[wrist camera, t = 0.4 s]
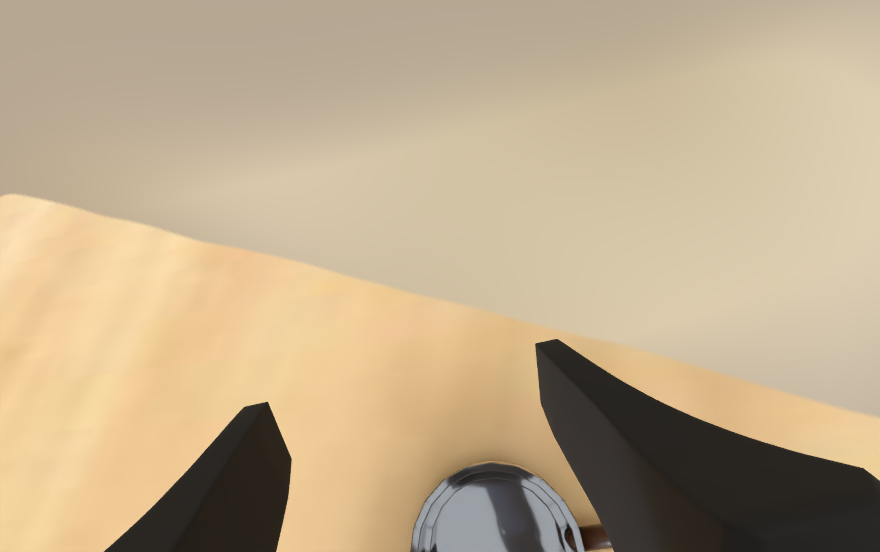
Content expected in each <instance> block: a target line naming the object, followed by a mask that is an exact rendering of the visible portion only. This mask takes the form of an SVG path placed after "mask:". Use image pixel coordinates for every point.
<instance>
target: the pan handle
mask: <svg viewBox="0 0 880 552" xmlns="http://www.w3.org/2000/svg"><path fill="white" fill-rule="evenodd" d="M579 528H580V532H581V536H582V540H583V544H584V548H585V551H593V550H600V549H608V548H613V547H612V545H611V543H610V541H609V538H608V536H607V534H606V531H605V529H604V527H603V525H602V524H596V525H589V526H582V527H579ZM566 540H567V544H568V546H569V547H570V548H571V549H572V550H574V551H576V549H575V544H574V540H573V537H572V533H571V531H570V530H569V531H568V533H567V536H566Z"/></svg>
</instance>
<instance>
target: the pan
mask: <svg viewBox="0 0 880 552" xmlns="http://www.w3.org/2000/svg"><path fill="white" fill-rule="evenodd" d="M569 530H570V531H571V533H572V537H573V540H574V544H575V549H576V551H574V550H572V549H571V548H570V547H569V546H568V544H567V540H566V536H567V533H568V531H569ZM410 552H585V548H584V544H583V540H582V536H581V532H580V528H579V526H578V524H577V522H576V520H575V519H574V517H573V515H572V513H571V512H570V510H569V508H568V506H567V505H566V503H565V501H564V500H563V498H562V497H561V496H560V495H559V494H557V493H556V492H555V491H554V490H553V489H552V488H551V487H550V486H549V485H548V484H547V483H546V482H545V481H544V480H543V479H542V478H541V477H540V476H538V475H537V474H535V473H533V472H531V471H529V470H527V469H525V468H523V467H522V466H520V465H518V464H515V463H508V462H502V461H495V460H489V461H484V462H479V463H473V464H469V465H467V466H465V467H463V468H461V469H460V470H458V471H456V472H455V473H453V474H451V475H449V476H448V477H447V478H445V479H444V480H443V481H442V482H441V483H440V484H439V485H438V487H437V488H436V489H435V490H434V491H433V492H432V493H431V495H430V496H429V497H428V498H427V499H426V501H425V502H424V505H423V507H422V509H421V511H420V514H419V516H418V518H417V520H416V523H415V525H414V528H413V535H412V543H411V550H410Z"/></svg>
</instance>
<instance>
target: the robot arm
mask: <svg viewBox="0 0 880 552" xmlns="http://www.w3.org/2000/svg"><path fill="white" fill-rule="evenodd" d="M535 346H536V357H537V368H538V378H539V389H540V399H541V405H542V407H543V410H544V412H545V415H546V418H547V420H548V423H549V425H550V427H551V430H552V432H553V435H554V437H555V439H556V441H557V442H558V444H559V446H560V448H561V450H562V452H563V453H564V455H565V457H566V459H567V461H568V463H569V464H570V466H571V468H572V470H573V472H574V473H575V475H576V477H577V479H578V481H579V482H580V484H581V486H582V488H583V490H584V491H585V493H586V495H587V497H588V498H589V500H590V502H591V504H592V506H593V507H594V509H595V511H596V513H597V515H598V517H599V519H600V521H601V523H602V525H603V527H604V529H605V531H606V534H607V536H608V538H609V541H610V543H611V545H612V547H613V550H614V552H880V481H879V480H878V479H877V478H875V477H874V476H873V475H872V474H870V473H869V472H867V471H866V470H865V469H864V468H860V467H856V466H852V465H847V464H843V463H839V462H835V461H831V460H827V459H823V458H818V457H814V456H810V455H806V454H802V453H798V452H795V451H791V450H788V449H784V448H781V447H778V446H774V445H771V444H768V443H764V442H761V441H758V440H755V439H752V438H749V437H746V436H743V435H740V434H737V433H734V432H731V431H729V430H726V429H723V428H721V427H718V426H715V425H713V424H710V423H707V422H705V421H702V420H700V419H698V418H695V417H693V416H690V415H688V414H686V413H684V412H681V411H679V410H677V409H675V408H673V407H671V406H668V405H666V404H664V403H662V402H660V401H658V400H656V399H654V398H652V397H650V396H648V395H646V394H644V393H643V392H641V391H639V390H637V389H635V388H633V387H632V386H630V385H628V384H626V383H625V382H623V381H621V380H619V379H618V378H616V377H614V376H613V375H611V374H610V373H608V372H606V371H605V370H603V369H602V368H600V367H598V366H597V365H595V364H594V363H592V362H591V361H589V360H588V359H586V358H585V357H583V356H582V355H580V354H579V353H578V352H576V351H575V350H573V349H572V348H570V347H569V346H567V345H566V344H564V343H563V342H561V341H560V340H558V339H554V340H550V341H545V342H540V343H536V344H535ZM291 460H292V459H291V456H290V454H289V452H288V449H287V447H286V444H285V442H284V440H283V437H282V435H281V432H280V430H279V428H278V425H277V423H276V421H275V418H274V416H273V413H272V411H271V409H270V406H269V404H268V402H265V403H260V404H256V405H251V406H246V407H244V408H243V409H242V410H241V411H240V412H239V413H238V414H237V415H236V416H235V417H234V419H233V420H232V421H231V422H230V423H229V424H228V425H227V426H226V428H225V429H224V430H223V431H222V432H221V433H220V434H219V436H218V437H217V438H216V439H215V440H214V441H213V442H212V444H211V445H210V446H209V447H208V448H207V449H206V450H205V451H204V453H203V454H202V455H201V456H200V457H199V458H198V459H197V460H196V462H195V463H194V464H193V465H192V466H191V467H190V468H189V469H188V471H187V472H186V473H185V474H184V475H183V476H182V477H181V478H180V479H179V480H178V481H177V482H176V483H175V484H174V485H173V486H172V487H171V488H170V489H169V490H168V491H167V492H166V493H165V495H164V496H163V497H162V498H161V499H160V500H159V501H158V502H157V503H156V504H155V505H154V506H153V507H152V508H151V509H150V510H149V511H148V512H147V513H146V514H145V515H144V516H143V517H142V518H141V519H139V520H138V521H137V522H136V523H135V524H134V525H133V526H132V527H131V528H130V529H129V530H128V531H126V532H125V533H124V534H123V535H122V536H121V537H120V538H119V539H118V540H117V541H115V542H114V543H113V544H112V545H111V546H110V547H109V548H107V549H106V550H105V551H104V552H276V550H277V545H278V541H279V537H280V532H281V528H282V523H283V519H284V514H285V510H286V505H287V500H288V494H289V484H290V473H291Z"/></svg>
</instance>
